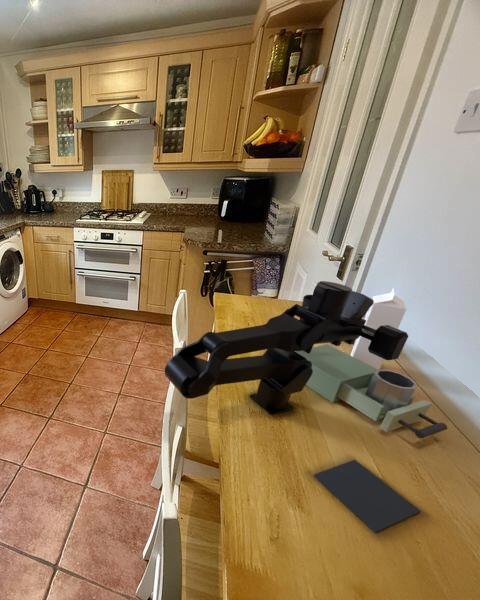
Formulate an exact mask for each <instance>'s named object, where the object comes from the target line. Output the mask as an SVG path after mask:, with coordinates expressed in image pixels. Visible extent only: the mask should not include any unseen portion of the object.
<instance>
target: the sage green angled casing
mask: <svg viewBox="0 0 480 600" xmlns="http://www.w3.org/2000/svg"><path fill="white" fill-rule="evenodd" d="M295 352H297V353H298V354H300V355H302V356H303V357H305V358H307V360H309V361H310V362H311V363H312V368H311V369H312V370H313V373H312V375H311V377H310V379H309V380H308V382H307V383H306V385H305V386H307V387H308V388H310V389H312V390H313V391H314V392H316V393H317V394H318V395H320V396H322V397H323V398H325V399H327V400H328V401H329V402H331V403H333V404H334V403H337V402H341V401H343V400H342V399H340V398H339V397H337V396H338V393H339V391H340V388H341V386H342V384H343V383H346V382H350V381H354V380H358V379H361V378H365V377H369V376H372V375H374V373H375V372H376V371H377V369H375V368H373V367H371V366H369V365H367V364H366V363H364V362H362V361H360V360H358V359H356V358H354V357H352V356H350V354H348V353H346V352H344V351H342V350H340V349H338V348H336V347H334V346H332V345H331V344H329V343H326V344H323V345H318V346H313V347H312V350H311V352H310V353H309V354H308V353H306V352H304V351H303V350H302V351H295Z"/></svg>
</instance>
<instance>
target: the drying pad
mask: <svg viewBox="0 0 480 600" xmlns="http://www.w3.org/2000/svg"><path fill="white" fill-rule="evenodd" d="M313 477H314V478H315V479H316V480H317V481H318V482H319V483H320V484H321V485H323V486H324V488H326V489H327V490H328V491H329V492H330V493H331V494H332V495H333V496H335V497H336V499H338V500H339V501H340V502H341V503H342V504H343V505H344V506H345V507H347V509H349V510H350V511H351V512H352V513H353V514H354V515H355V516H356V517H357V518H358V519H359V520H361V522H363V523H364V524H365V525H366V527H368V528H369V529H370V530H371V531H373V532H374V534H377V533H379V532H382V531H384V530H386V529H388V528H390V527H393V526H396V525H397V524H399V523H401V522H404V521H405V520H407V519H410V518H412V517H414V516H416V515H419V514H421V510H420V509H419V508H418V507H416V506H415V505H414V504H412V503H411V502H410V501H408V500H407V499H406V498H405V497H404V496H402V494H400V493H399V492H397V491H396V490H395V489H393V488H392V487H391V486H389V485H388V484H387V483H385V481H383V480H382V479H380V478H379V477H378V476H376V474H374V473H373V472H371V471H370V470H369V469H367V468H366V467H365V466H364V465H362V464H361V463H360V462H358V461H357V460H356V459H352V460H349V461H347V462H344V463H341V464H338V465H336V466H333V467H330V468H327V469H324V470H322V471H319V472H317V473H314V474H313Z"/></svg>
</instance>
